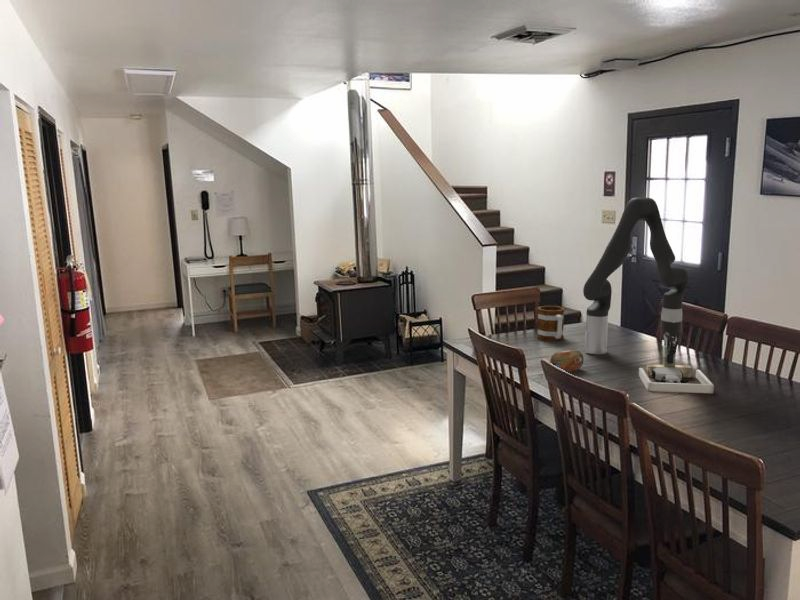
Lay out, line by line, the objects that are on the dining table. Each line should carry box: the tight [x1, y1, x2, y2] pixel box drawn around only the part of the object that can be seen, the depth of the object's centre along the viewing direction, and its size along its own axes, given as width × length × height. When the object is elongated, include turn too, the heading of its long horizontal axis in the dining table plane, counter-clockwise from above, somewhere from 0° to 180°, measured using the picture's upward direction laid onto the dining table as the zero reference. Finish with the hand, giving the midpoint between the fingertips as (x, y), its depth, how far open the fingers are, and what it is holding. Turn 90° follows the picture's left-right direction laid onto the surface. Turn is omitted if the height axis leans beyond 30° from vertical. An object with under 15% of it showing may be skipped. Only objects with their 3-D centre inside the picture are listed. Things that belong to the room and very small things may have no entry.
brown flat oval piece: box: [549, 349, 584, 373], centre depth 261 cm, size 15×3×8 cm, turn 112°
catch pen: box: [638, 367, 715, 394], centre depth 242 cm, size 22×19×3 cm
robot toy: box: [649, 367, 692, 384], centre depth 243 cm, size 12×4×15 cm
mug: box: [536, 305, 565, 342], centre depth 310 cm, size 20×14×15 cm
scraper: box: [645, 344, 692, 378], centre depth 251 cm, size 16×3×12 cm, turn 79°
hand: (669, 361), depth 251 cm, fingers closed on scraper, 3 cm apart
